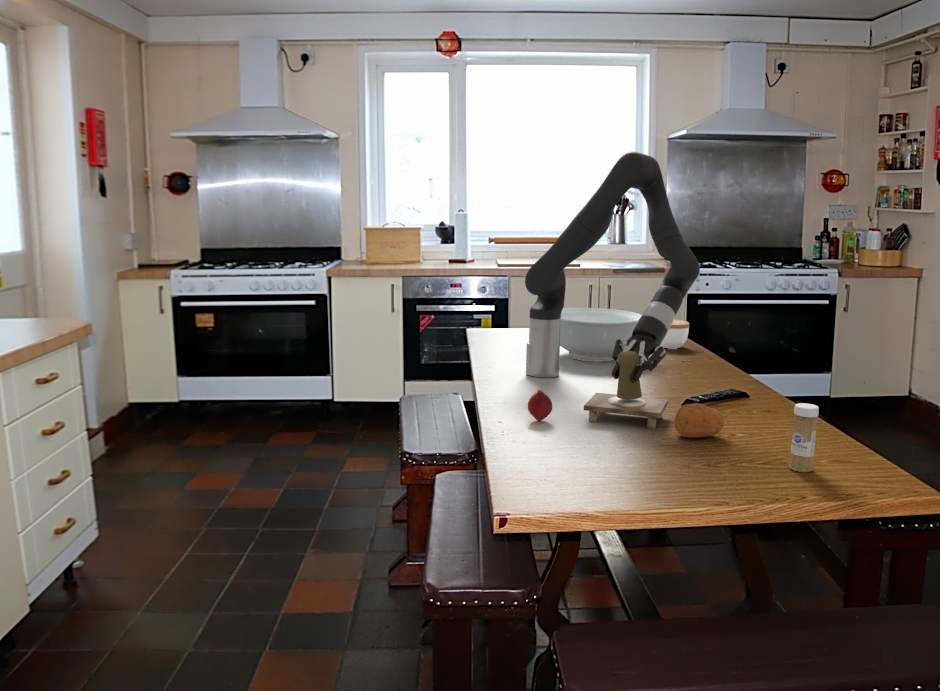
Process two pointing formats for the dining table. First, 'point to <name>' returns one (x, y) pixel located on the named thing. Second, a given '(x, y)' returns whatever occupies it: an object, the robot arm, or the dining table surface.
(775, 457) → the dining table surface
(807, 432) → the sprinkles bottle
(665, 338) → the lidded bowl
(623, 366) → the olive pepper mill
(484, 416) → the dining table surface
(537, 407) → the onion
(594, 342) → the bowl
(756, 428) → the dining table surface
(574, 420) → the dining table surface
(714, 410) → the potato
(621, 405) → the wooden stand
